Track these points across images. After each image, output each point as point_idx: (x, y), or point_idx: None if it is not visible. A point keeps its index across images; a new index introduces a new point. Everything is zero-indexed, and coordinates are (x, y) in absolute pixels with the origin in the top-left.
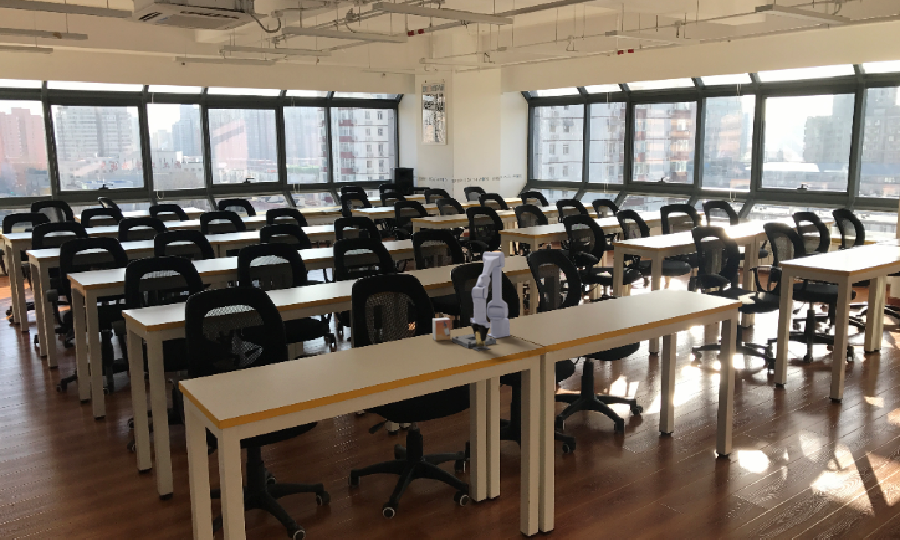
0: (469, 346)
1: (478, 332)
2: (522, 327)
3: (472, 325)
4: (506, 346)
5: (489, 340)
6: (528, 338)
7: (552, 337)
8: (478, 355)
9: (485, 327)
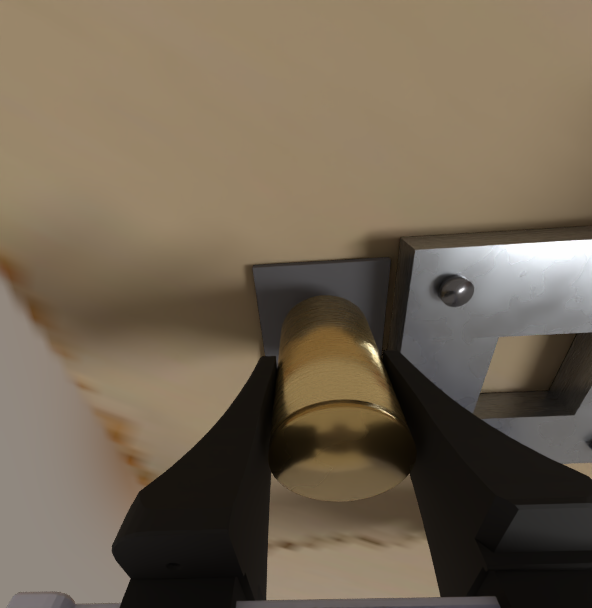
0: (403, 257)
1: (294, 420)
2: None
3: (509, 505)
4: None
5: None
6: (358, 554)
7: (314, 594)
8: (123, 204)
9: (142, 583)
